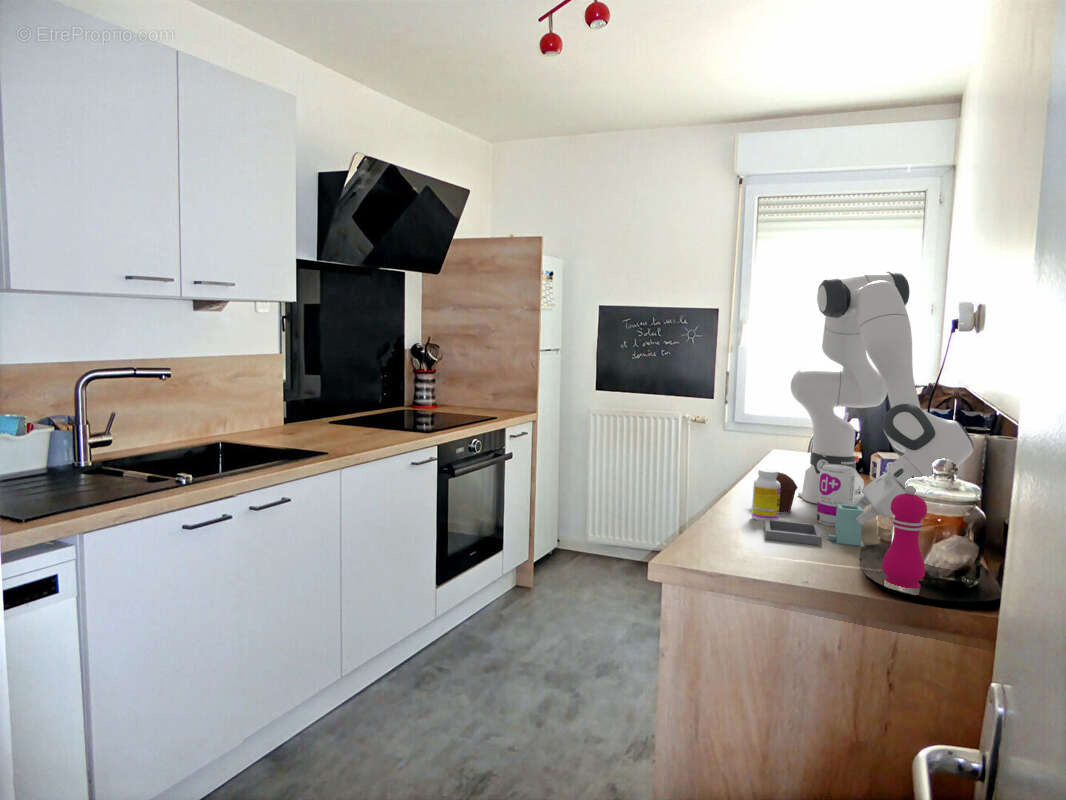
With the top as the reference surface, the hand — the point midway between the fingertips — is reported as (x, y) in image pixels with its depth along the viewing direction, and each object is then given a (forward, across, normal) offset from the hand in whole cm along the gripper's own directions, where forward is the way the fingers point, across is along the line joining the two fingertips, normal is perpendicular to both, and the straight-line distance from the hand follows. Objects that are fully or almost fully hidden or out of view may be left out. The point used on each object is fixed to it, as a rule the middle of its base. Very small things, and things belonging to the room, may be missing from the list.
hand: (855, 516), depth 168 cm
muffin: (+16, -30, -7) cm, 35 cm away
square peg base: (+5, 0, +4) cm, 6 cm away
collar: (+5, 0, +3) cm, 6 cm away
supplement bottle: (+18, -15, -9) cm, 25 cm away
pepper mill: (+2, +32, +8) cm, 33 cm away
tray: (+14, +1, -5) cm, 15 cm away
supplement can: (+6, -18, +3) cm, 19 cm away
